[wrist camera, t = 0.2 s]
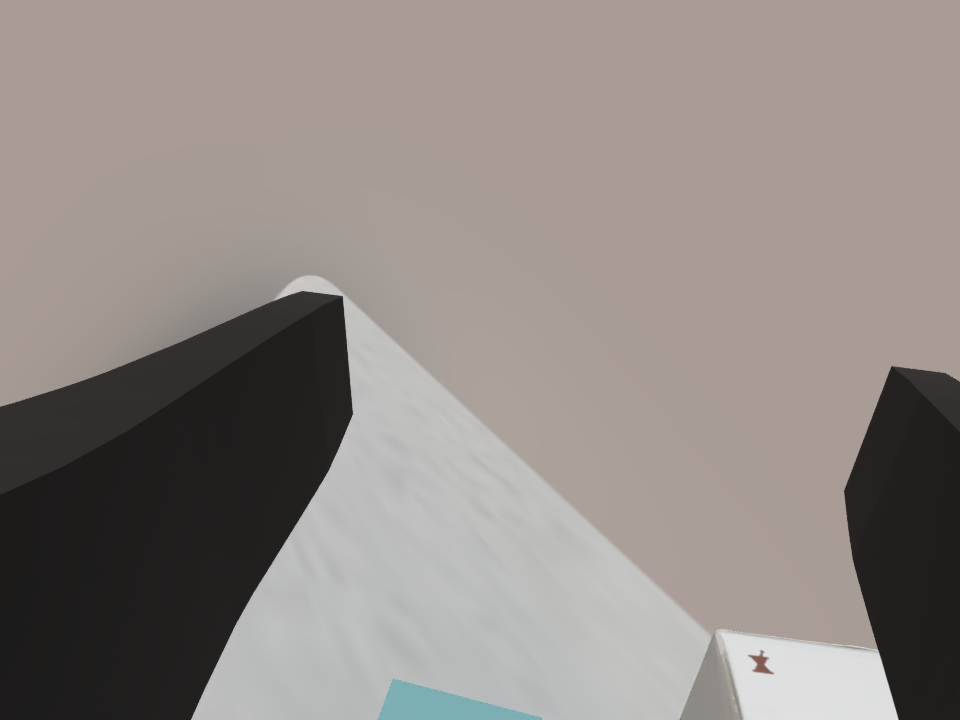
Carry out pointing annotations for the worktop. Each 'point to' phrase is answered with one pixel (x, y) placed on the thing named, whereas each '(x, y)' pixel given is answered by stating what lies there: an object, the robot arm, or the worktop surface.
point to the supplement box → (788, 681)
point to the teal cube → (439, 706)
